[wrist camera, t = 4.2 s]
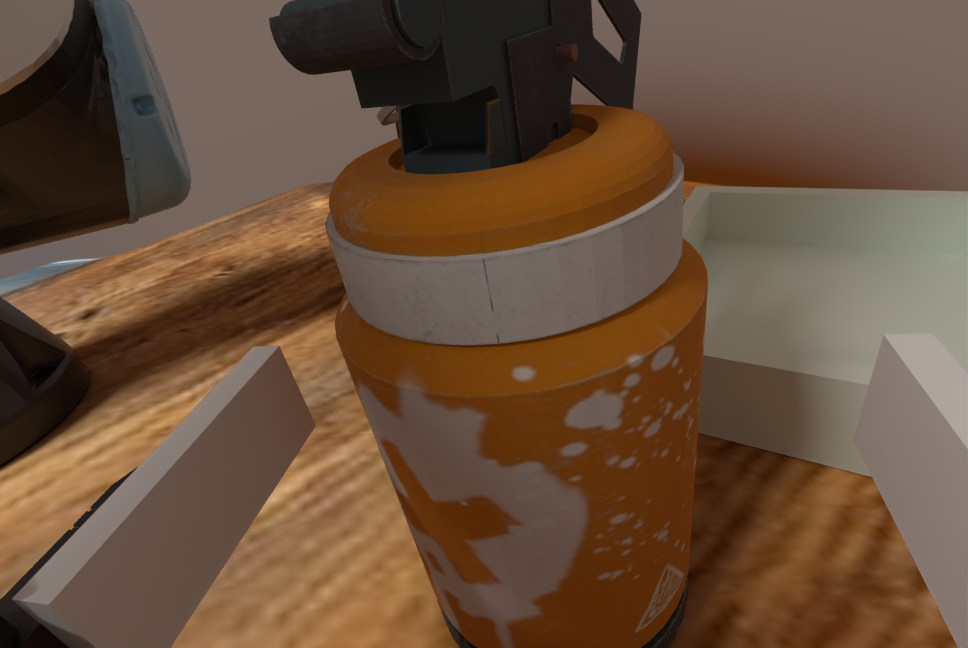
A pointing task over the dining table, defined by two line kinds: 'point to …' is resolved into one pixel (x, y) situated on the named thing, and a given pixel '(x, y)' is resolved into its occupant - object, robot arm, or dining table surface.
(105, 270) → the dining table surface
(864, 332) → the tray
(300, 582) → the dining table surface
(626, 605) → the canister
